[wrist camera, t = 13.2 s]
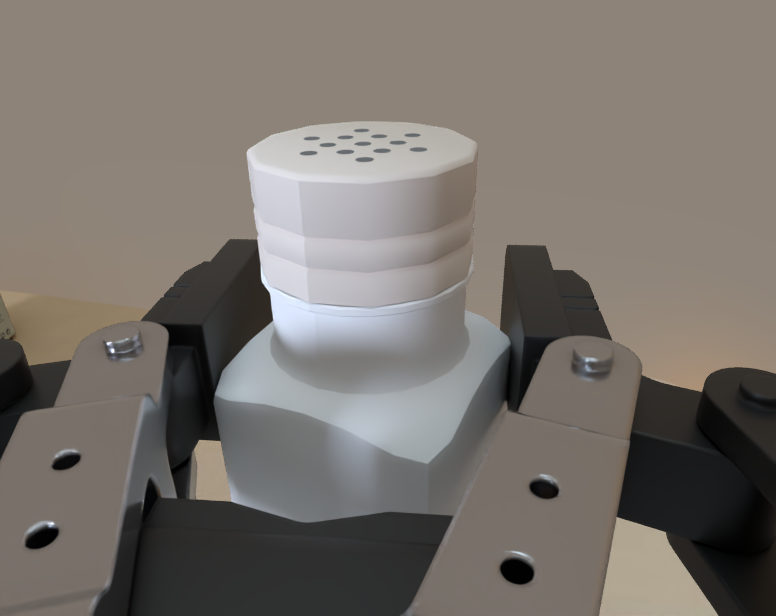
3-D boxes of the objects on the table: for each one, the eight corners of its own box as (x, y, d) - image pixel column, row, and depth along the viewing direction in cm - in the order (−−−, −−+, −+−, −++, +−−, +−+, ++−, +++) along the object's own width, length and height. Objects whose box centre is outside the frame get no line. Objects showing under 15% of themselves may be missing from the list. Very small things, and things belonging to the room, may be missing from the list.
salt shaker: (500, 560, 14) (543, 126, 9) (429, 734, 11) (442, 206, 6) (345, 502, 15) (317, 108, 11) (244, 638, 12) (147, 164, 8)
